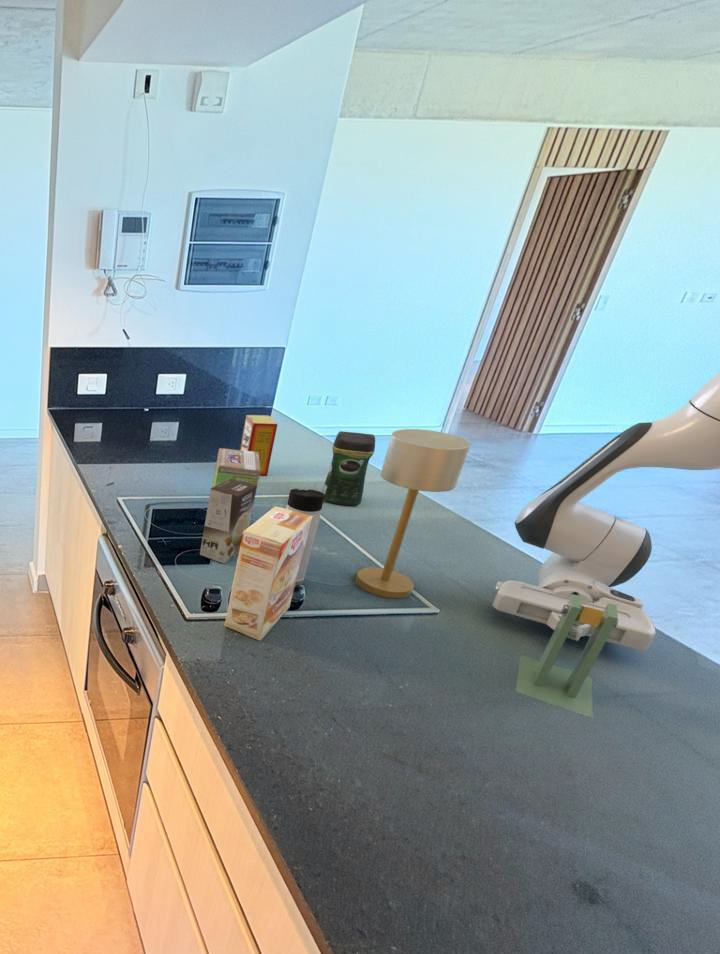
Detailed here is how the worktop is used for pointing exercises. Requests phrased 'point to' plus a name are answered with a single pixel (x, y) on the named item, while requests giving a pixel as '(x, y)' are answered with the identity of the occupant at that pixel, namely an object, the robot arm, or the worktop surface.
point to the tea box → (237, 466)
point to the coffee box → (227, 519)
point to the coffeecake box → (267, 571)
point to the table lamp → (413, 493)
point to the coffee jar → (348, 468)
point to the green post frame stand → (560, 682)
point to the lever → (588, 616)
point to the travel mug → (312, 506)
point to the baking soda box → (259, 438)
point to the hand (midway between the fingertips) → (568, 634)
